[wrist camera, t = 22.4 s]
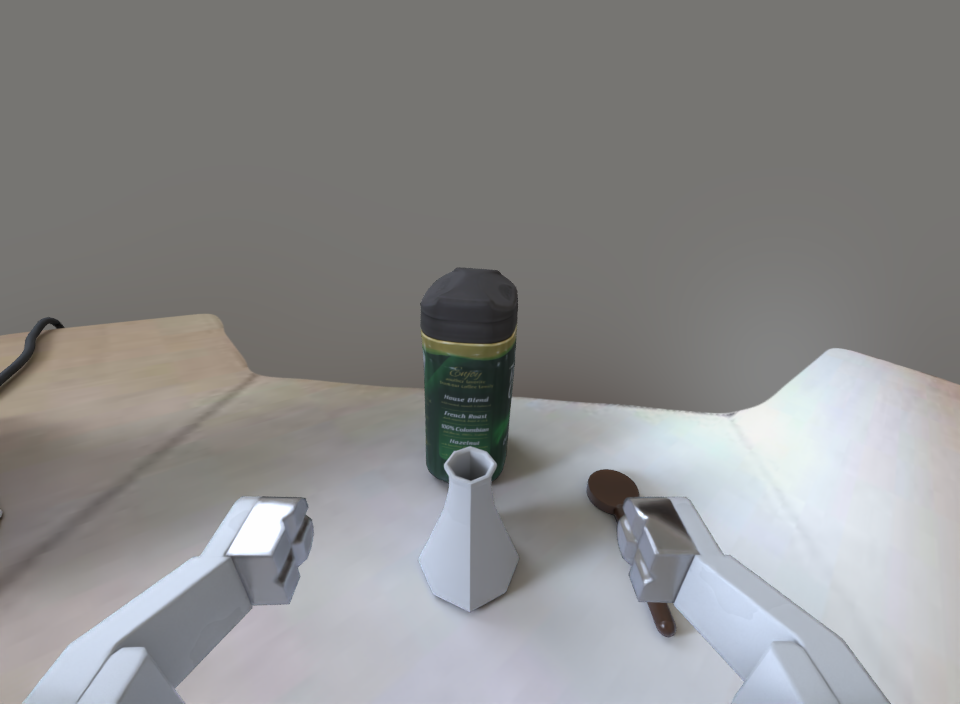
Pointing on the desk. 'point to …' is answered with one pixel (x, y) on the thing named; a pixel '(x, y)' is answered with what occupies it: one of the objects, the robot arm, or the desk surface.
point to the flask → (469, 537)
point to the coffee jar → (468, 364)
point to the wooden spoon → (609, 497)
